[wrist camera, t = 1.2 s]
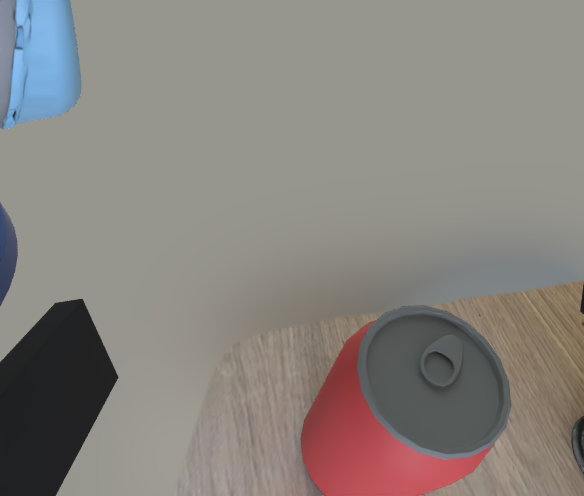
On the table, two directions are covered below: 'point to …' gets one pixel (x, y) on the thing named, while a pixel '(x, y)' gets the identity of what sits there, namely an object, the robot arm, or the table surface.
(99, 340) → the robot arm
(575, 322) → the table surface
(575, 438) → the salt shaker
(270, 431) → the table surface
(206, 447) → the table surface
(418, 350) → the beer can
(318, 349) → the table surface
